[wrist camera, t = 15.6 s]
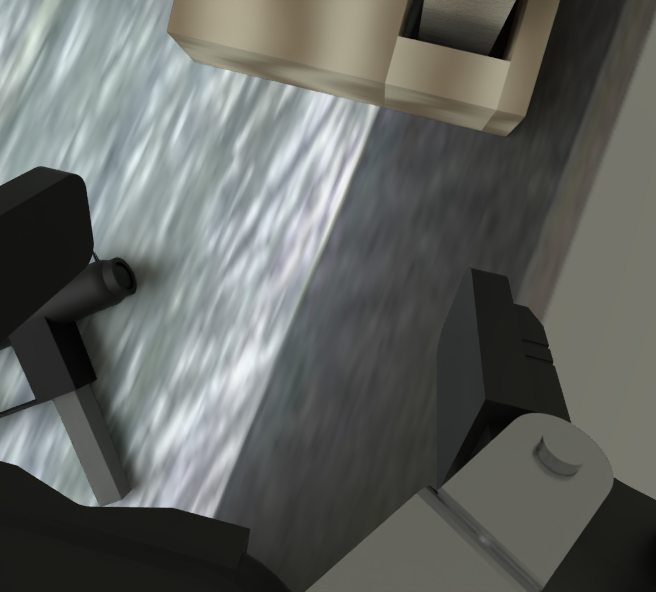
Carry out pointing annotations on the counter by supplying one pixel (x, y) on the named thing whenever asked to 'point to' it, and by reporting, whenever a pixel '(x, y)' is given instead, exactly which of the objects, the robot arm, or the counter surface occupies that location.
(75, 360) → the door handle
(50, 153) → the counter surface
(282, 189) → the counter surface
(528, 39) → the post base
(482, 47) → the square post
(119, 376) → the counter surface
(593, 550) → the robot arm
